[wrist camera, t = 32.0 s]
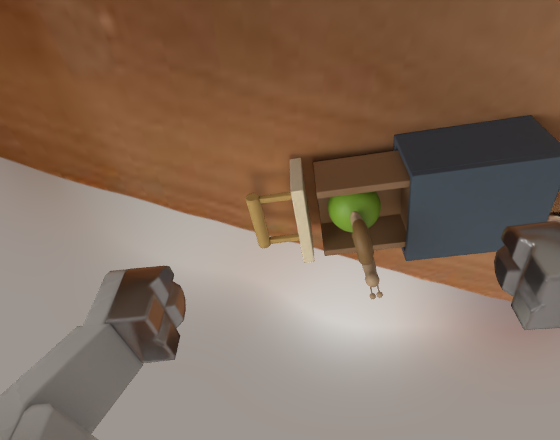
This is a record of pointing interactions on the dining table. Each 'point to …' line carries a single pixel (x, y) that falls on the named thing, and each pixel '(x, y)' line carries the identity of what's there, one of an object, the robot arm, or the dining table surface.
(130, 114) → the dining table surface
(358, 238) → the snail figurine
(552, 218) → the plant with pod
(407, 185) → the drawer
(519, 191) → the cabinet
